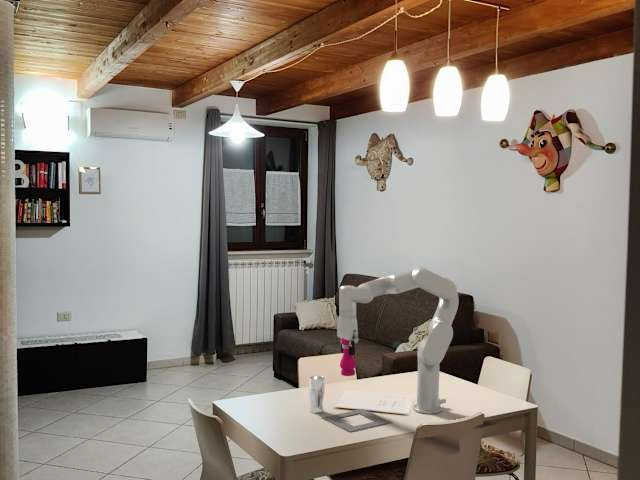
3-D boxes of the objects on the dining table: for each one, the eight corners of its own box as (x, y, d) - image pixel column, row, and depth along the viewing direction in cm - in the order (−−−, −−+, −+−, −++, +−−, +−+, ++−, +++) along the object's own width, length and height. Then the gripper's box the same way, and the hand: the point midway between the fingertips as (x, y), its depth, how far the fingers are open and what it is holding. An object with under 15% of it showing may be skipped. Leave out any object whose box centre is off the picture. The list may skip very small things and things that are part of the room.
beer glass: (327, 410, 285) (327, 377, 284) (319, 414, 279) (319, 380, 278) (314, 407, 288) (314, 374, 287) (305, 411, 282) (306, 378, 281)
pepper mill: (354, 376, 284) (354, 332, 282) (338, 376, 285) (338, 331, 284) (357, 372, 291) (357, 328, 289) (341, 371, 292) (341, 328, 291)
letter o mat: (362, 409, 286) (362, 408, 286) (391, 422, 270) (391, 421, 270) (321, 418, 274) (321, 417, 274) (349, 432, 258) (349, 431, 258)
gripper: (330, 311, 291) (330, 351, 292) (352, 317, 277) (352, 358, 278) (343, 310, 295) (343, 349, 296) (366, 315, 281) (366, 356, 282)
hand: (347, 353), depth 287 cm, fingers closed on pepper mill, 5 cm apart
